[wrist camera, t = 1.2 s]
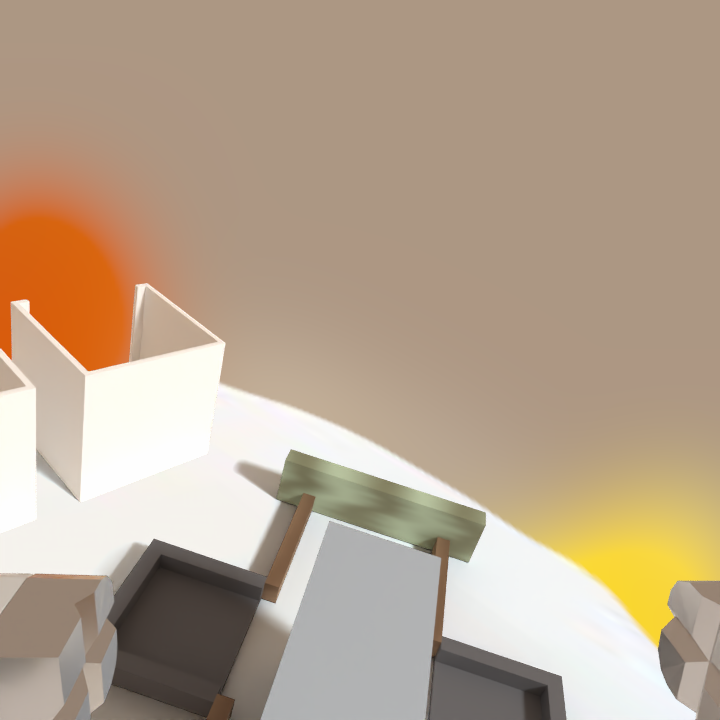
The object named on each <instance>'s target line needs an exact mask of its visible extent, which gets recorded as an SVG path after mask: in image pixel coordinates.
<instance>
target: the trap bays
mask: <svg viewBox="0 0 720 720" xmlns="http://www.w3.org/2000/svg"><path fill="white" fill-rule="evenodd" d="M266 579H267V577H266V576H263V575H260V574H257V573H254V572H251V571H248V570H245V569H242V568H239V567H236V566H233V565H230V564H227V563H224V562H221V561H218V560H215V559H212V558H209V557H206V556H203V555H200V554H197V553H194V552H192V551H189V550H186V549H183V548H180V547H177V546H174V545H171V544H168V543H165V542H162V541H159V540H156V539H154V540H153V541H152V542H151V544H150V545H149V547H148V548H147V550H146V551H145V552H144V554H143V555H142V557H141V558H140V560H139V561H138V562H137V564H136V565H135V567H134V568H133V570H132V571H131V572H130V574H129V575H128V577H127V578H126V580H125V581H124V582H123V584H122V585H121V587H120V588H119V590H118V591H117V592H116V594H115V595H114V603H113V606H112V608H111V610H110V612H109V614H108V616H107V619H108V620H109V621H110V622H111V623H112V624H113V626H114V627H115V628H116V630H117V658H116V665H115V670H114V674H113V679H112V683H111V684H113V685H116V686H119V687H122V688H124V689H127V690H130V691H133V692H136V693H139V694H141V695H144V696H147V697H150V698H153V699H156V700H158V701H161V702H164V703H167V704H170V705H173V706H175V707H178V708H181V709H184V710H187V711H190V712H193V713H195V714H198V715H201V716H204V717H207V716H208V714H209V712H210V709H211V707H212V705H213V702H214V700H215V698H216V695H217V694H221V691H222V689H223V687H224V684H225V682H226V680H227V677H228V675H229V673H230V670H231V668H232V666H233V663H234V661H235V658H236V656H237V654H238V651H239V649H240V647H241V644H242V642H243V640H244V637H245V635H246V633H247V630H248V628H249V626H250V623H251V621H252V618H253V616H254V614H255V611H256V609H257V607H258V604H259V602H260V600H261V597H262V593H263V589H264V584H265V581H266ZM429 720H566V711H565V702H564V694H563V685H562V676H559V675H556V674H553V673H550V672H547V671H544V670H541V669H538V668H535V667H532V666H529V665H526V664H523V663H520V662H517V661H514V660H511V659H508V658H505V657H502V656H499V655H497V654H494V653H491V652H488V651H485V650H482V649H479V648H476V647H473V646H470V645H467V644H464V643H461V642H458V641H455V640H452V639H449V638H446V637H443V636H442V642H441V644H440V647H439V649H438V651H437V653H436V655H435V657H434V668H433V678H432V689H431V700H430V710H429Z"/></svg>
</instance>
